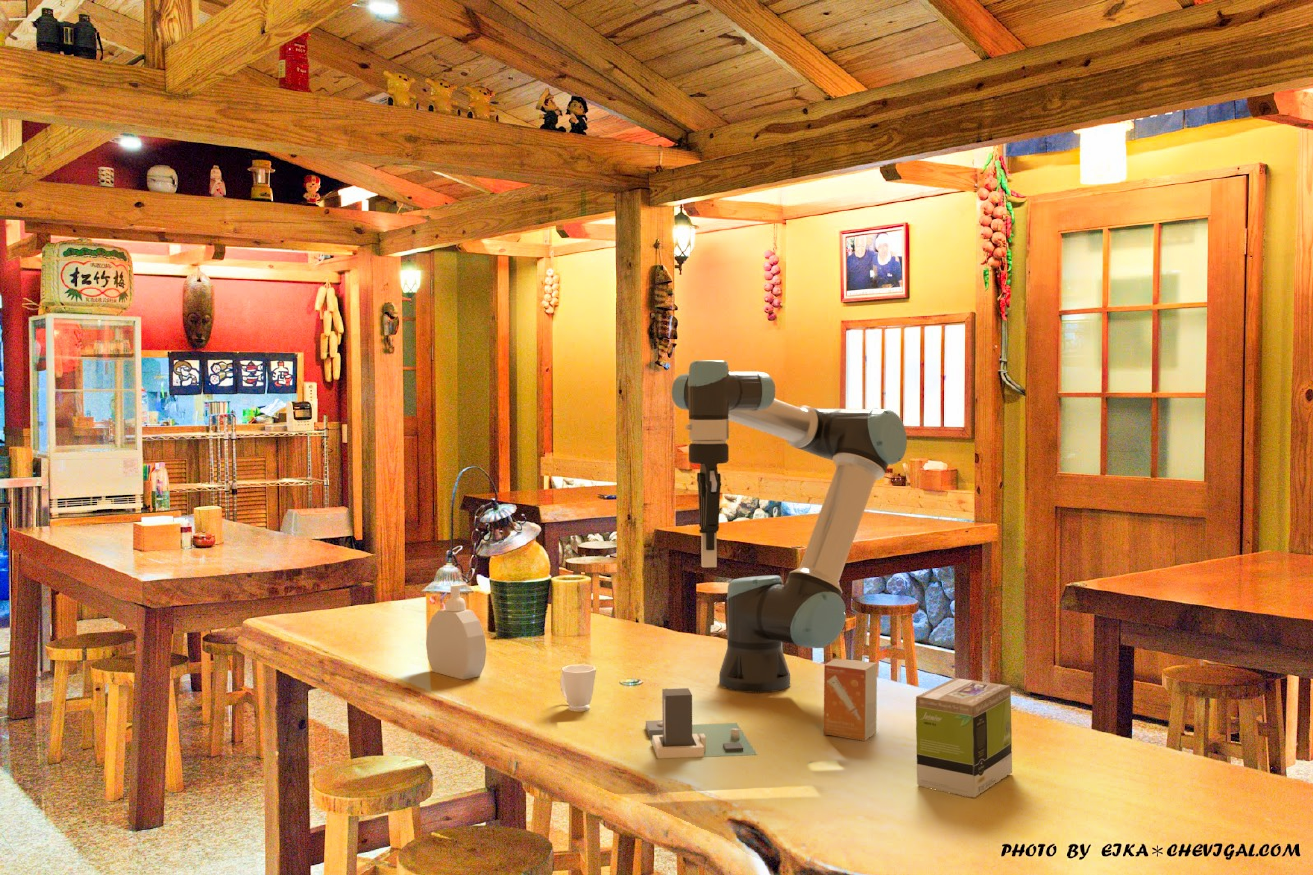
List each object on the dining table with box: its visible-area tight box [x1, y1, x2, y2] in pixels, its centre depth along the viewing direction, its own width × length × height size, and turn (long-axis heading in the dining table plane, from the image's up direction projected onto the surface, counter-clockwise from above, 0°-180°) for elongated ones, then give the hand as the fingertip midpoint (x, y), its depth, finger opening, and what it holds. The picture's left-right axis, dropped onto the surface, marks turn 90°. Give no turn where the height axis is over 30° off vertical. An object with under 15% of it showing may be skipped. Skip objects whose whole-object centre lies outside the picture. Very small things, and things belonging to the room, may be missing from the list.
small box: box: [823, 657, 878, 742], centre depth 209 cm, size 8×6×13 cm
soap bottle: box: [425, 583, 487, 681], centre depth 256 cm, size 16×5×20 cm, turn 46°
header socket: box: [651, 733, 706, 759], centre depth 196 cm, size 9×8×2 cm
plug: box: [661, 687, 693, 747], centre depth 196 cm, size 4×4×10 cm
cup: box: [559, 663, 597, 713], centre depth 228 cm, size 7×10×8 cm
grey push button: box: [645, 719, 663, 739], centre depth 205 cm, size 6×10×3 cm, turn 7°
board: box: [644, 722, 758, 760], centre depth 202 cm, size 17×19×3 cm
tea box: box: [915, 677, 1013, 798], centre depth 183 cm, size 15×10×15 cm
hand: (709, 566), depth 217 cm, fingers closed
